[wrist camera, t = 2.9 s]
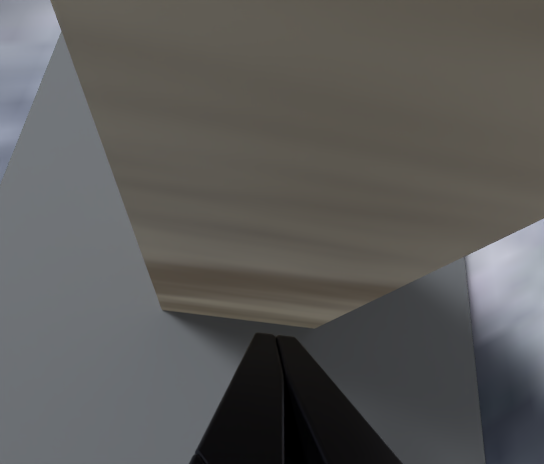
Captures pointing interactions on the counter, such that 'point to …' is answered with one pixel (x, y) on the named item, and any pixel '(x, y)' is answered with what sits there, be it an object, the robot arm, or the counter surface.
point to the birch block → (312, 141)
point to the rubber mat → (181, 325)
